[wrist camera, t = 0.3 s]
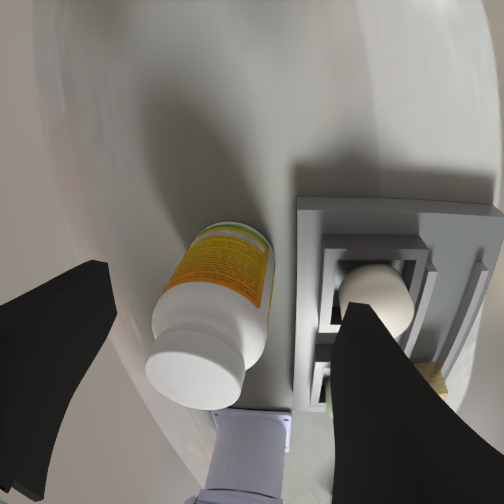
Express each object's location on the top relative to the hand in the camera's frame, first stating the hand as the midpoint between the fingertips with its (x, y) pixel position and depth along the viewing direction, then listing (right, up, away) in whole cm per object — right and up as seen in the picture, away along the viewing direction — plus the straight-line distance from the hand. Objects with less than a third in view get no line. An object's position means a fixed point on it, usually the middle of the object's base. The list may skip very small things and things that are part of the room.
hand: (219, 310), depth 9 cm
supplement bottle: (0, +1, +11) cm, 11 cm away
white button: (+7, 0, +7) cm, 10 cm away
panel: (+10, -3, +12) cm, 16 cm away
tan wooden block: (+13, -7, +10) cm, 18 cm away
